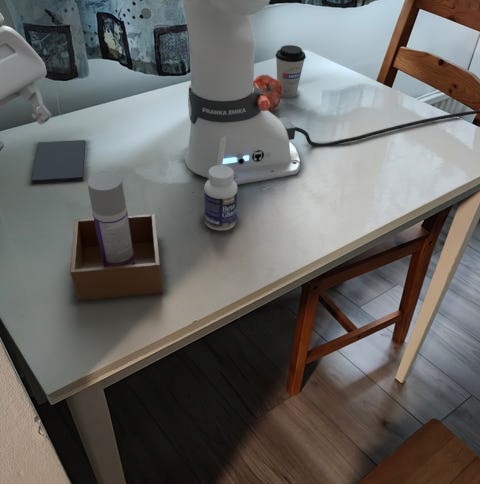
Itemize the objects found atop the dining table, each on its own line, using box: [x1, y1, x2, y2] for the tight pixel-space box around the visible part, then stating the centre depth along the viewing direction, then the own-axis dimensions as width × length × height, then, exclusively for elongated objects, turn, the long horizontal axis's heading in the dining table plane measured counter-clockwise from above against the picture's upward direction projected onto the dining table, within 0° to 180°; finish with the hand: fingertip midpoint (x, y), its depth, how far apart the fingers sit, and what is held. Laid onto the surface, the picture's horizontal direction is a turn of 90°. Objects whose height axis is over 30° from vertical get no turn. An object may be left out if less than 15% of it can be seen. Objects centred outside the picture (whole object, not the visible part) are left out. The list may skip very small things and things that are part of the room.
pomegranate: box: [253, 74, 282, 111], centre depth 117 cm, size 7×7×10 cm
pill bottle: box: [203, 165, 238, 232], centre depth 86 cm, size 5×5×10 cm
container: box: [87, 171, 135, 267], centre depth 75 cm, size 5×5×15 cm
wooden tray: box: [69, 213, 164, 301], centre depth 78 cm, size 12×12×5 cm
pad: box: [31, 139, 86, 184], centre depth 101 cm, size 9×14×1 cm, turn 10°
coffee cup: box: [275, 44, 307, 98], centre depth 122 cm, size 7×7×10 cm
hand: (23, 135), depth 70 cm, fingers open, 8 cm apart
